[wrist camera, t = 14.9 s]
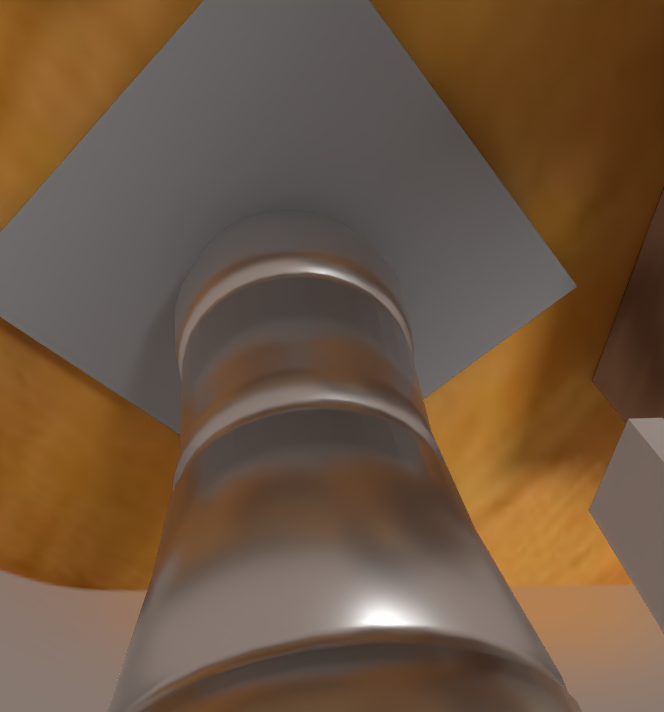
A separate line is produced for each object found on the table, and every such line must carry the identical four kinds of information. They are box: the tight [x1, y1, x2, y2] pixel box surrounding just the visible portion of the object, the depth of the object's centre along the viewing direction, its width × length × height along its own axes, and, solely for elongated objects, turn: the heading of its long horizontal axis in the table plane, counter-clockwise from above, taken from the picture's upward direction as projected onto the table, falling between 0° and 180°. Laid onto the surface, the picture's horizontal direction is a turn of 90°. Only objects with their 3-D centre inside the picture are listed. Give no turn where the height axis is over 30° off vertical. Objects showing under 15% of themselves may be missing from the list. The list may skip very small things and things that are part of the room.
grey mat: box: [0, 0, 577, 435], centre depth 19 cm, size 14×14×1 cm
